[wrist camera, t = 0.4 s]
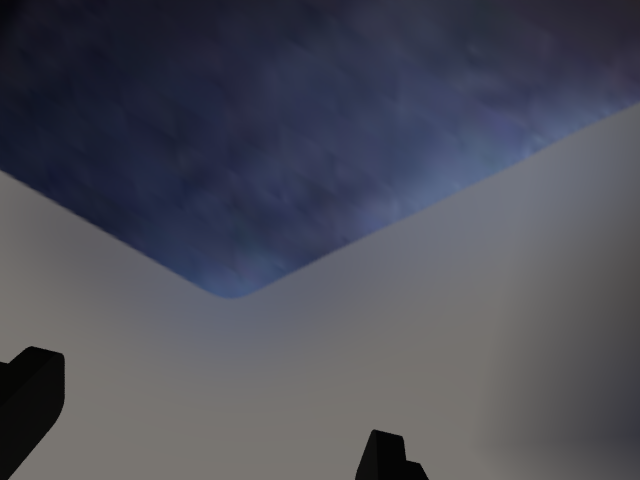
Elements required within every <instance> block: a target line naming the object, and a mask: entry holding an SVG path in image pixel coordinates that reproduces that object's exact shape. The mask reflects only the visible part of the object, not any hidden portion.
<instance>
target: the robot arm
mask: <svg viewBox="0 0 640 480" xmlns="http://www.w3.org/2000/svg"><path fill="white" fill-rule="evenodd" d="M64 373H65V359H64V355H63V354H62V353H58V352H54V351H49V350H46V349H41V348H37V347H33V346H31V347H28V348H26V349H25V350H23V351H22V352H21V353H20V354H19V355H18V356H16V357H15V358H14V359H13V360H12V361H11V362H10V363H8V364H7V363H3V362H0V480H8V479H9V478H10V476H11V475H12V474H13V473H14V472H15V471H16V469H17V468H18V467H19V466H20V465H21V463H22V462H23V461H24V460H25V459H26V457H27V456H28V455H29V454H30V453H31V451H32V450H33V449H34V448H35V447H36V445H37V444H38V443H39V442H40V441H41V439H42V438H43V437H44V436H45V434H46V433H47V432H48V431H49V430H50V428H51V427H52V426H53V425H54V423H55V422H56V420H57V419H58V417H59V415H60V413H61V411H62V408H63V405H64V399H65V394H64V393H65V374H64ZM355 480H429V479H428V477H427V476H426V474H425V472H424V470H423V468H422V466H421V465H420V463H416V462H411V461H407V460H406V455H405V447H404V440H403V437H402V436H399V435H394V434H391V433H387V432H383V431H378V430H372V432H371V434H370V437H369V440H368V442H367V445H366V448H365V450H364V453H363V456H362V459H361V461H360V464H359V467H358V469H357V473H356V477H355Z"/></svg>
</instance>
